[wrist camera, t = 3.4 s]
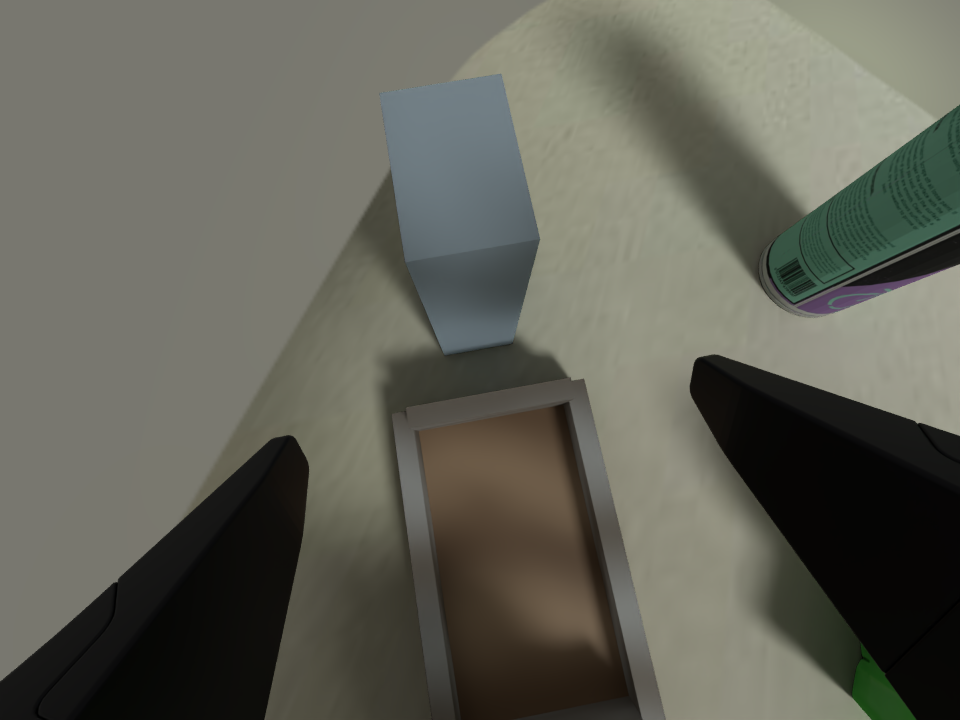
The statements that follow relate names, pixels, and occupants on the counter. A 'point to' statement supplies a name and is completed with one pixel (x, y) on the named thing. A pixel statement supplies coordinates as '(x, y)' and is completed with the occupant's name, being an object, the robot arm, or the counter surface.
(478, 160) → the blue-grey rectangular block
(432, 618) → the shallow grey tray
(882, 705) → the fruit basket
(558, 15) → the counter surface
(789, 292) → the spray can
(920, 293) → the counter surface
